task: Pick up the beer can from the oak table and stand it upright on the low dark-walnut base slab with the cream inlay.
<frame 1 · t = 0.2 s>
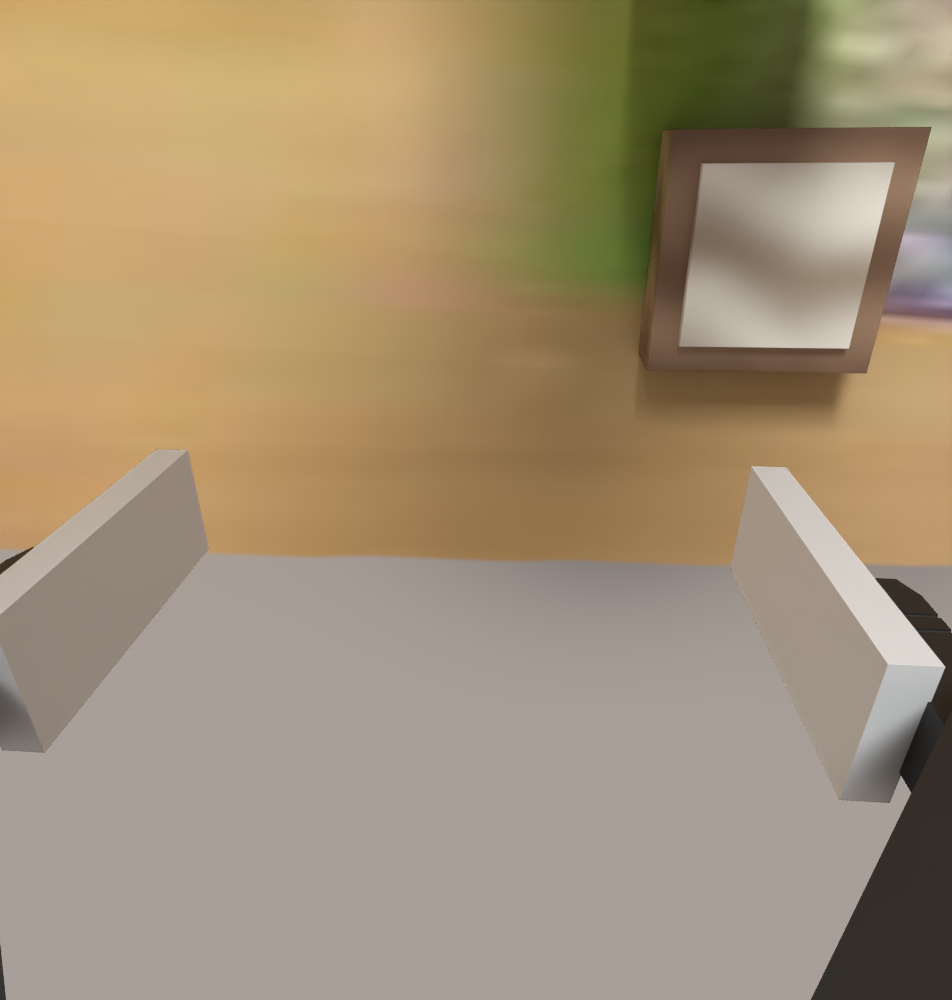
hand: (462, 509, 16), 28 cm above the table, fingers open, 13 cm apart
base slab: (756, 250, 38), on the table
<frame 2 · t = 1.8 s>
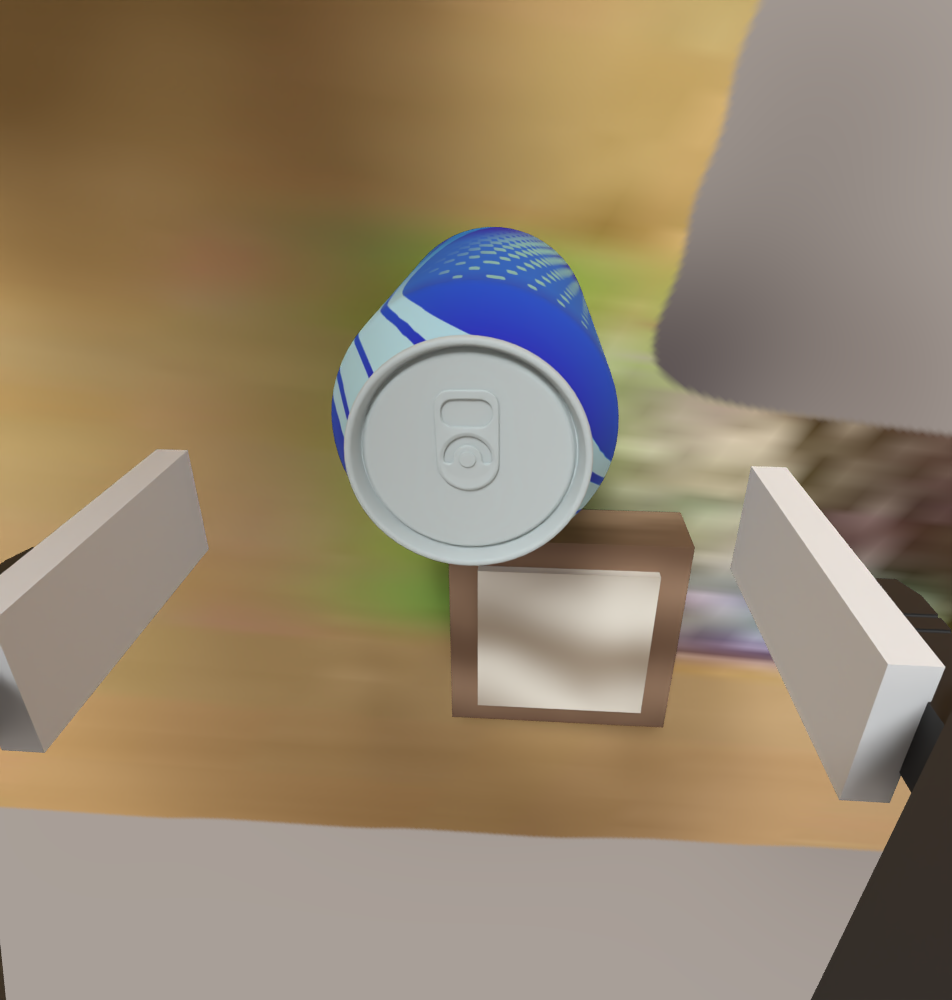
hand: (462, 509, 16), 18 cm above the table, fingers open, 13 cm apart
base slab: (560, 600, 39), on the table
beer can: (494, 318, 32), on the table
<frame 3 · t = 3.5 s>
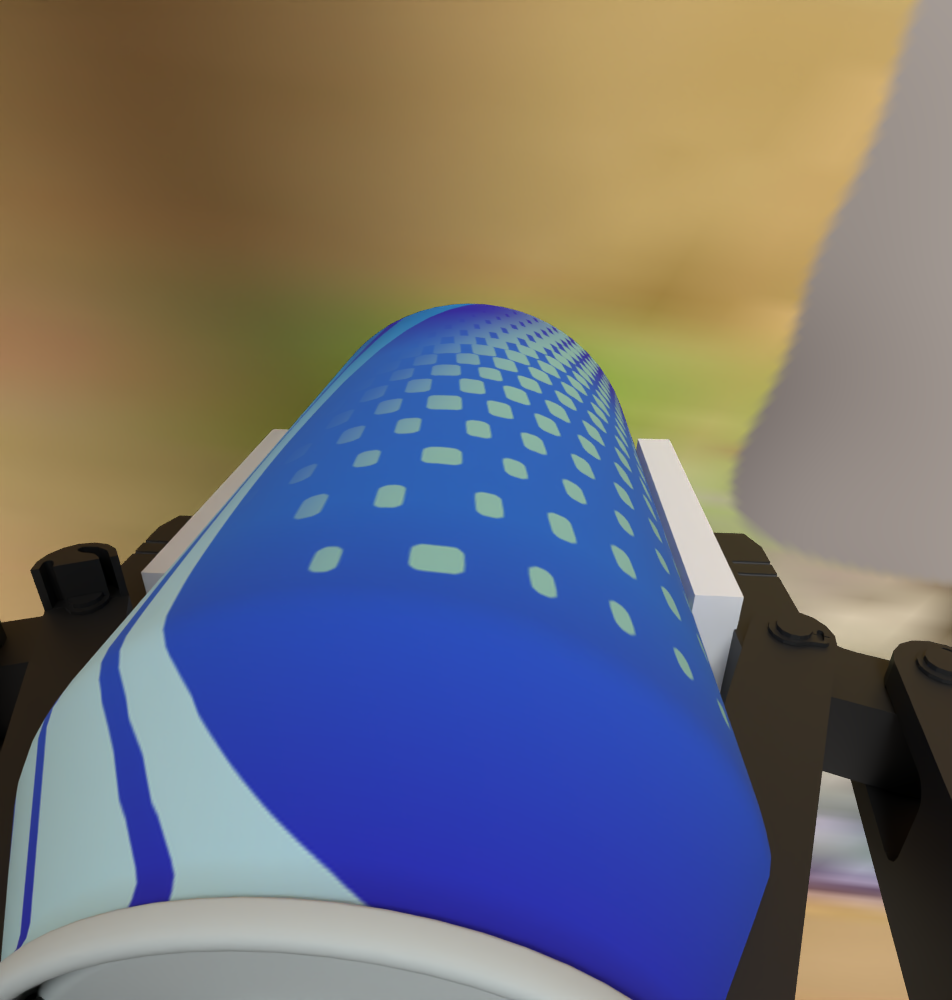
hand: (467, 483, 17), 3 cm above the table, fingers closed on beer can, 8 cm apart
beer can: (476, 438, 20), on the table, touching gripper
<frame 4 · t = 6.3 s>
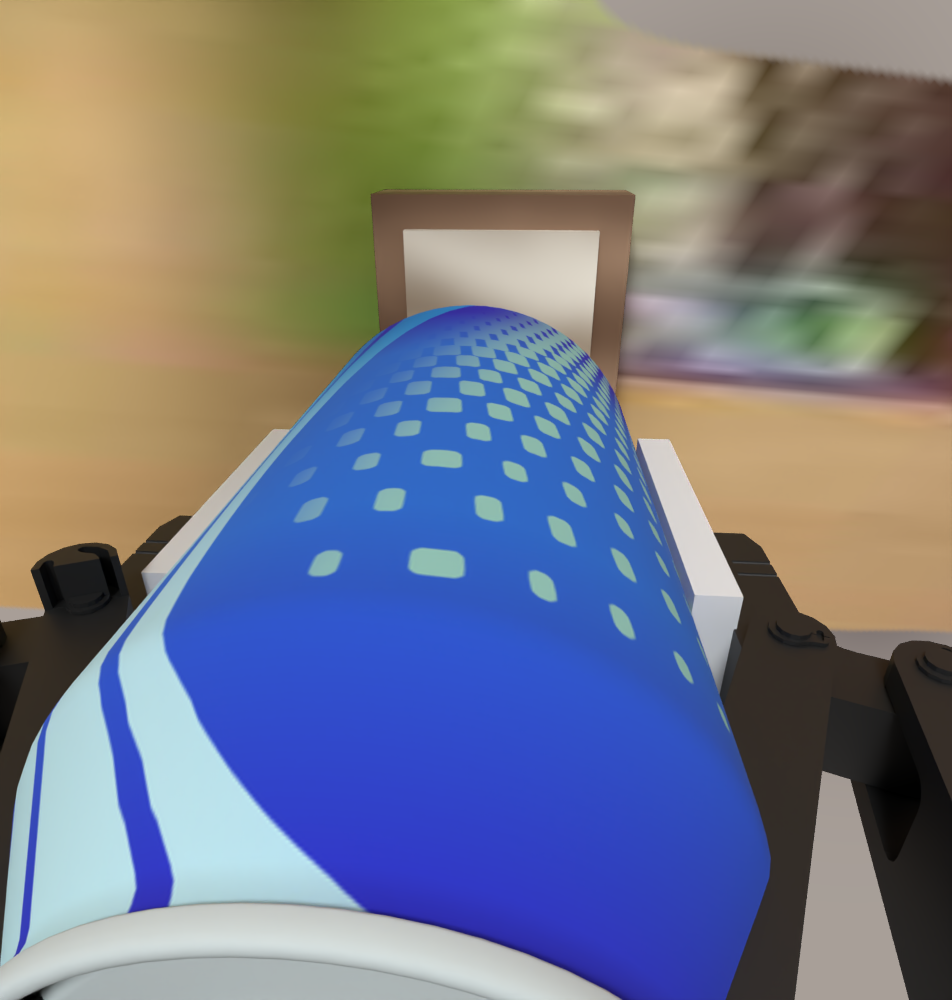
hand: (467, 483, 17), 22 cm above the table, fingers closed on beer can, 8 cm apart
base slab: (502, 311, 37), on the table
beer can: (476, 439, 20), point 19 cm above the table, touching gripper
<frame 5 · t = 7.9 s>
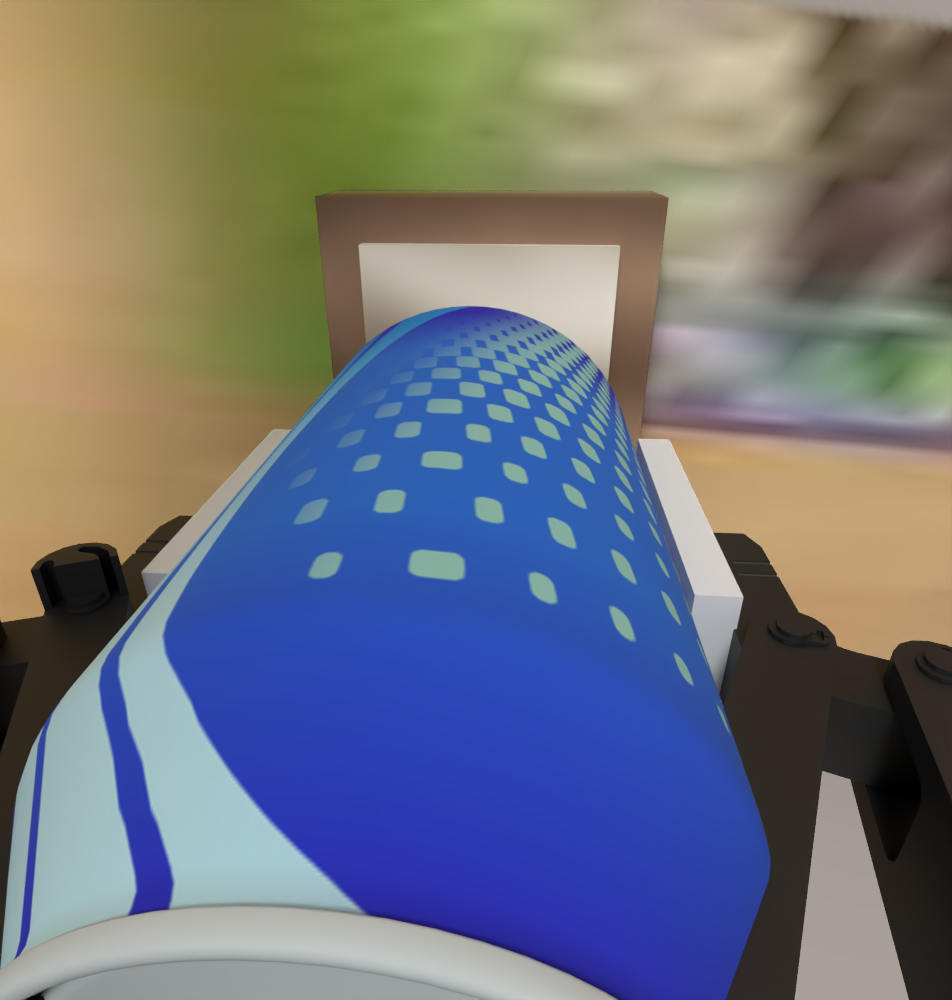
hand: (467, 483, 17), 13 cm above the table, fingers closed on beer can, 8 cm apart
base slab: (492, 345, 29), on the table
beer can: (476, 440, 20), point 10 cm above the table, touching gripper
when the fingers open (8 cm above the table, at t = 9.3 s): beer can drops 1 cm, resting on base slab.
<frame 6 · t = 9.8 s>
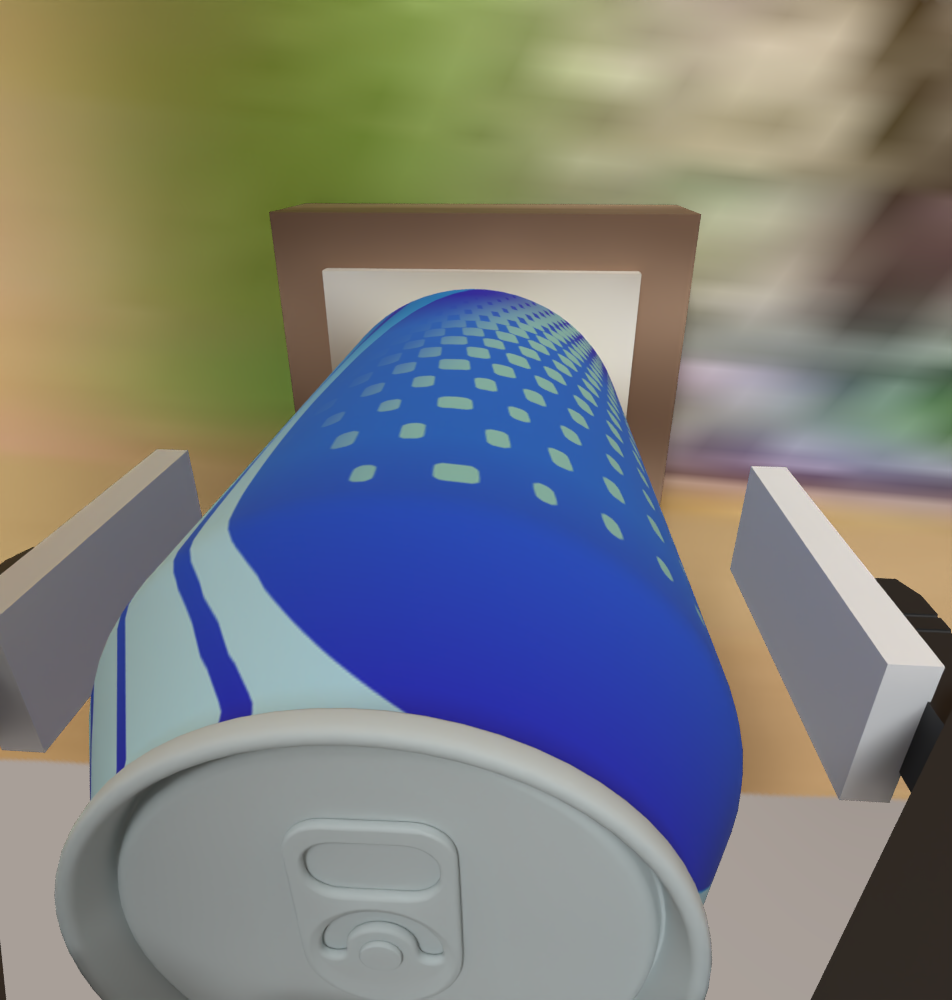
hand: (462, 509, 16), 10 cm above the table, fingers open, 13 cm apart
base slab: (486, 383, 25), on the table
beer can: (477, 418, 21), point 4 cm above the table, touching base slab
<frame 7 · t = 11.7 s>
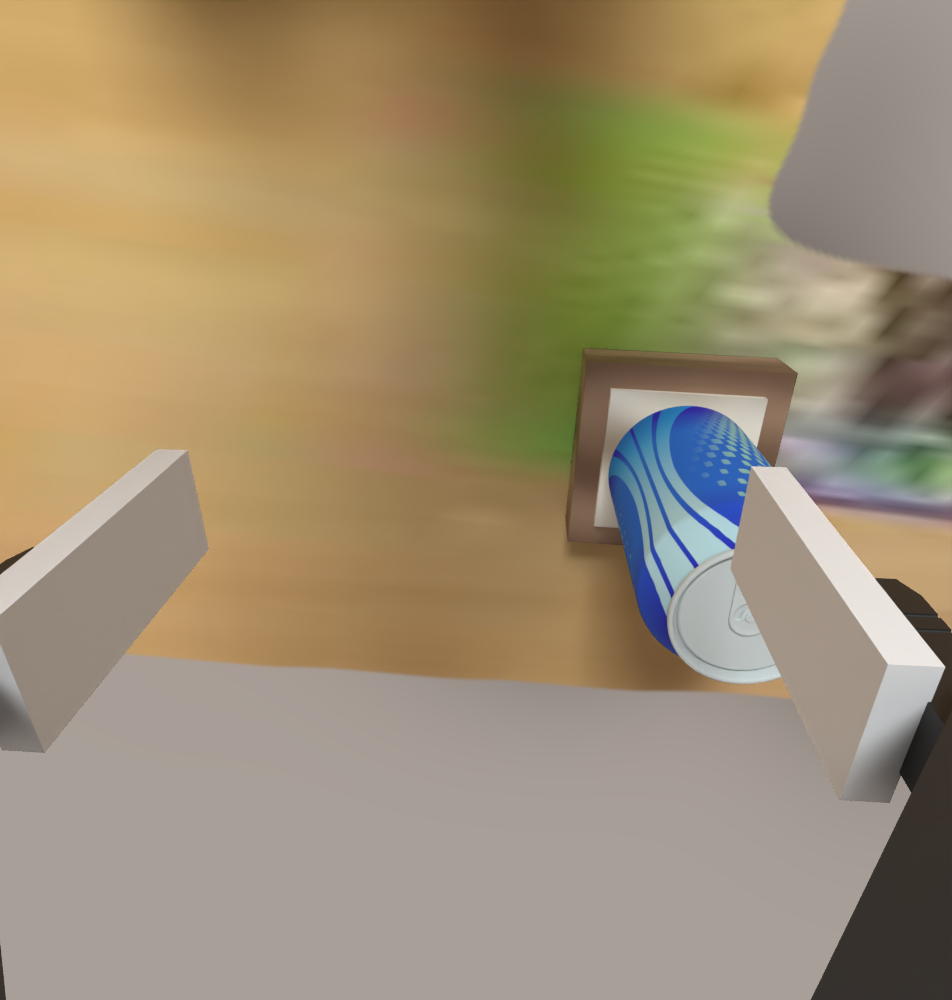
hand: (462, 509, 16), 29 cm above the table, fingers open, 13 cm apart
base slab: (664, 442, 45), on the table
beer can: (675, 463, 42), point 4 cm above the table, touching base slab
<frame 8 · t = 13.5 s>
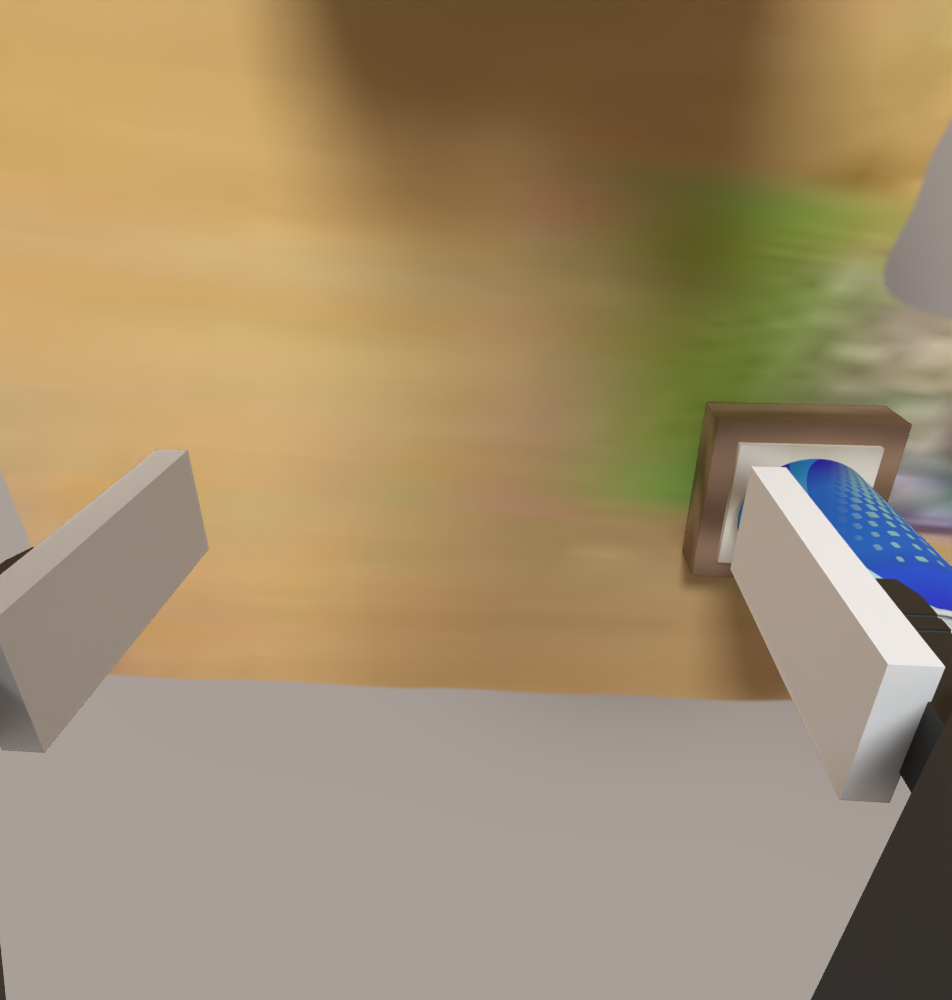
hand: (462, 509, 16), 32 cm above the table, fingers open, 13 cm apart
base slab: (777, 482, 49), on the table
beer can: (795, 506, 46), point 4 cm above the table, touching base slab
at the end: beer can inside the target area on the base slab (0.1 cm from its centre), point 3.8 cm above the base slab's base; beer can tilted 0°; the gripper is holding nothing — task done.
